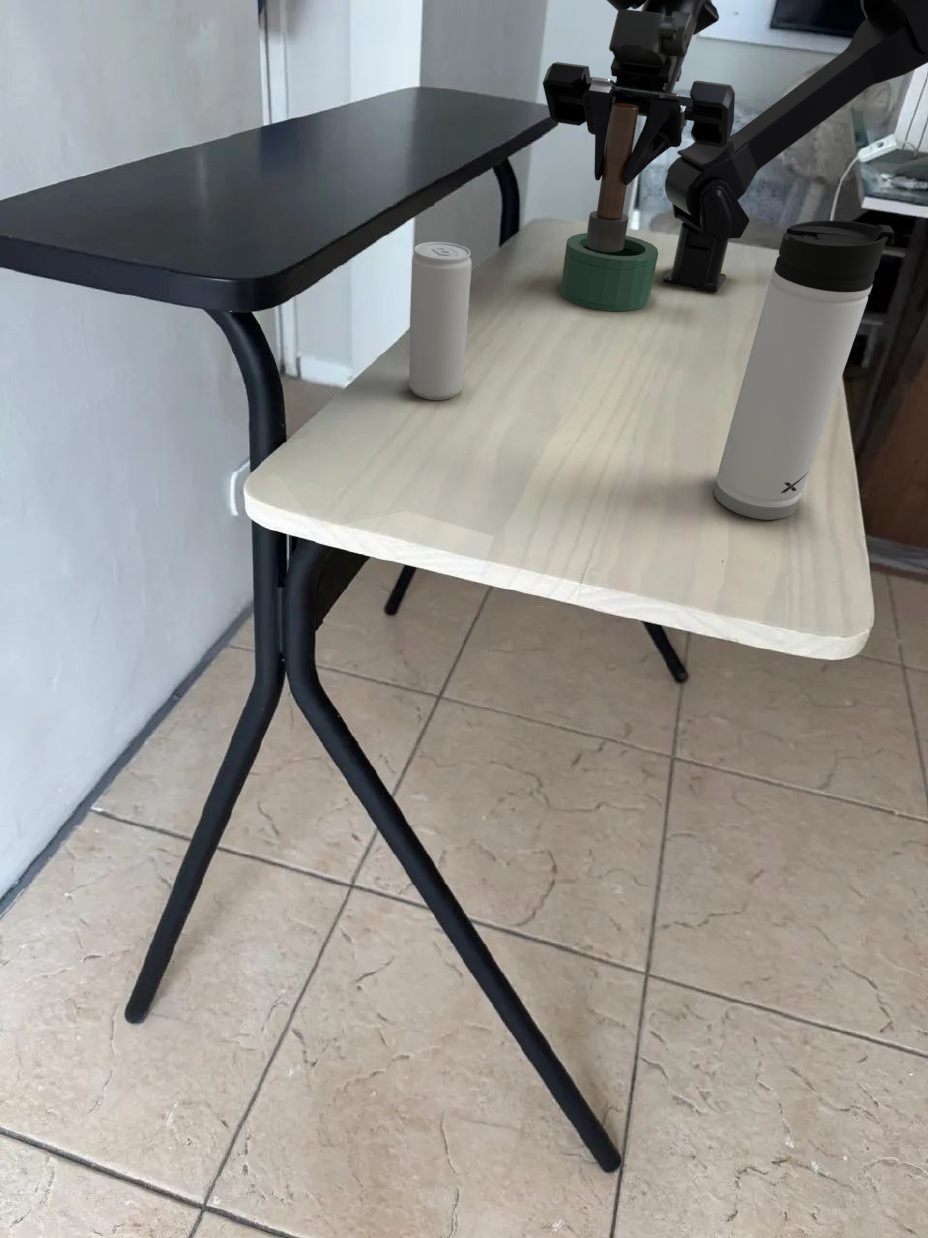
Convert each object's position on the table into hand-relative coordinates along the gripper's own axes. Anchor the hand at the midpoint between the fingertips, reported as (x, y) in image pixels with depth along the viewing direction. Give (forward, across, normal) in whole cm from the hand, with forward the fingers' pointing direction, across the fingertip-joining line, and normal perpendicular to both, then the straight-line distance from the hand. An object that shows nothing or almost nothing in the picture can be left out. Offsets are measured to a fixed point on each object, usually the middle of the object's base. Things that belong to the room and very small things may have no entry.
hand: (610, 179), depth 91 cm
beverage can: (+28, -6, -9) cm, 31 cm away
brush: (+4, 0, +6) cm, 7 cm away
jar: (+5, -1, +14) cm, 15 cm away
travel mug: (+32, +24, -12) cm, 41 cm away
